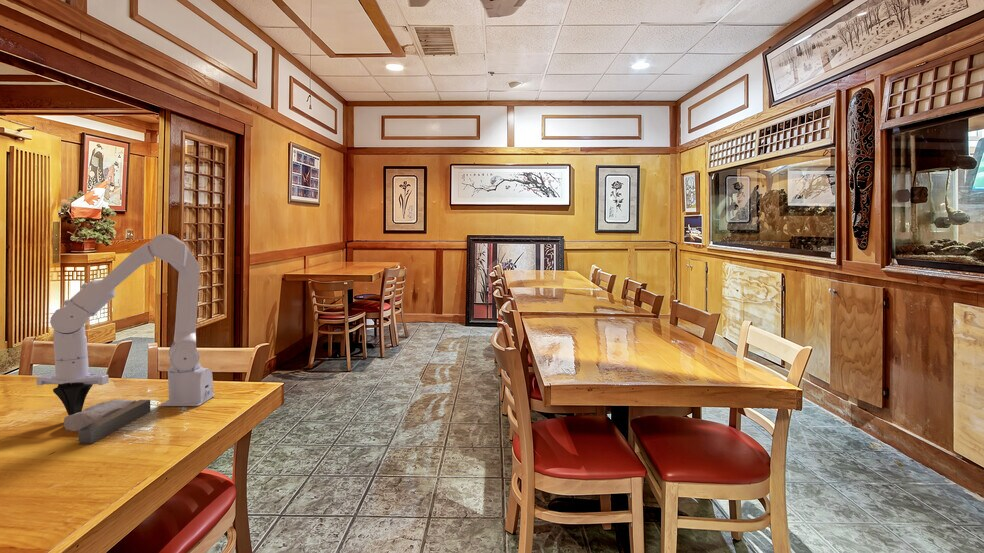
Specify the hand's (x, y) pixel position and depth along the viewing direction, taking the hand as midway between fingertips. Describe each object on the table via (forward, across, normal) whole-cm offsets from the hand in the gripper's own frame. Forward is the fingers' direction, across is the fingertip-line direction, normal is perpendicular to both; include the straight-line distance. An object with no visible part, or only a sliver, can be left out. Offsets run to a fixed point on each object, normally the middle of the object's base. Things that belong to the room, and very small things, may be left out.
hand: (75, 414), depth 107 cm
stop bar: (+1, +12, -4) cm, 13 cm away
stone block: (+2, +6, 0) cm, 6 cm away
